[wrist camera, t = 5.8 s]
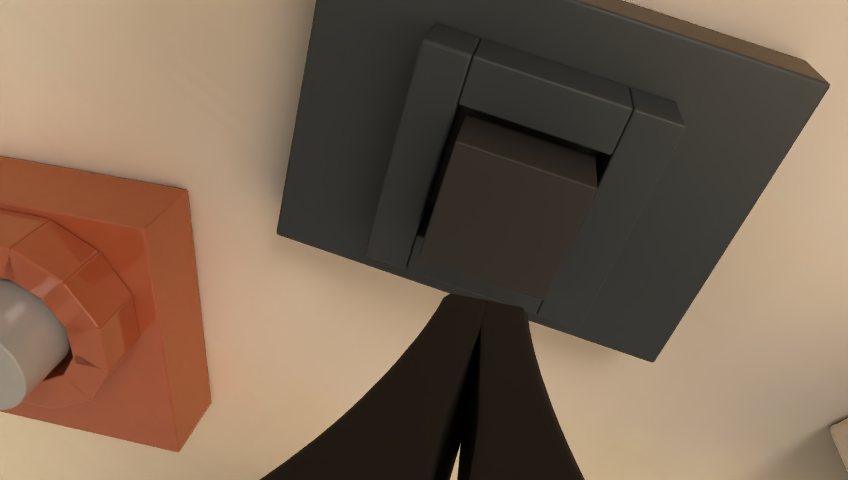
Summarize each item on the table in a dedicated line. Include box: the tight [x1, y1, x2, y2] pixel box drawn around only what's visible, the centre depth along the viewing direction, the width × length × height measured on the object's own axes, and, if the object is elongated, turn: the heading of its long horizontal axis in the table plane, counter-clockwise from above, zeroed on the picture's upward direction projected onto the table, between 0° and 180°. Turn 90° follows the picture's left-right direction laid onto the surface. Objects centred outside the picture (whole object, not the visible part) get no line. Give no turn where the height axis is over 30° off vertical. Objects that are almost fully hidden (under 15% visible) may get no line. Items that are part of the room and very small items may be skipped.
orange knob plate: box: [0, 156, 211, 452], centre depth 23 cm, size 10×8×4 cm
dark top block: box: [419, 114, 597, 300], centre depth 16 cm, size 3×3×2 cm
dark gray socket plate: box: [277, 0, 830, 362], centre depth 18 cm, size 9×12×4 cm
